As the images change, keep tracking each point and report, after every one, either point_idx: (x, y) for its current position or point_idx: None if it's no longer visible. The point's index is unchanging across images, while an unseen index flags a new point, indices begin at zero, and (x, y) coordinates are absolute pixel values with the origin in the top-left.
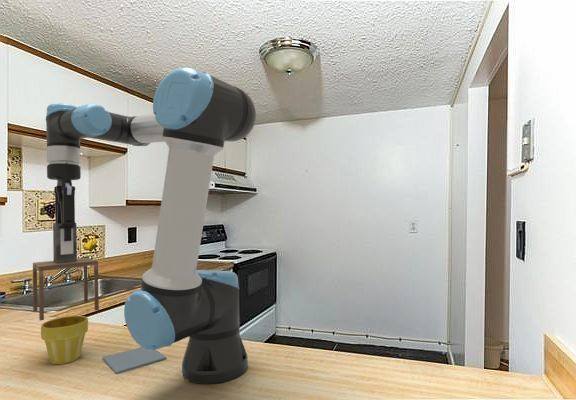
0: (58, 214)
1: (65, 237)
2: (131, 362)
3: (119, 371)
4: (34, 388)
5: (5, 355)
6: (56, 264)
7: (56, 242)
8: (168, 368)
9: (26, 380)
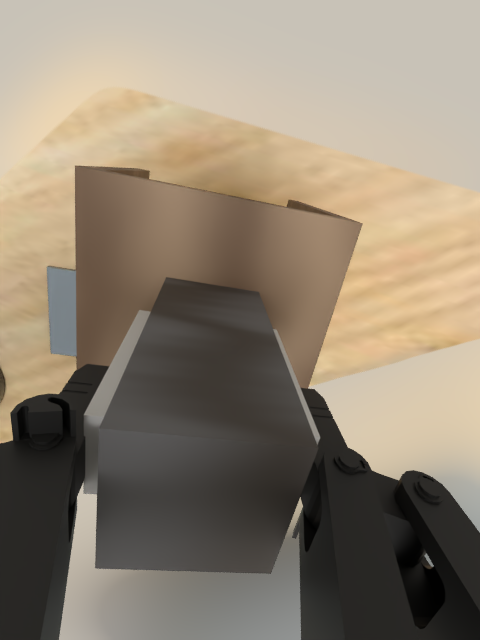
0: (341, 619)
1: (70, 383)
2: (73, 304)
3: (47, 272)
4: (97, 136)
5: (360, 159)
6: (121, 263)
7: (145, 326)
8: (6, 333)
9: (155, 140)
